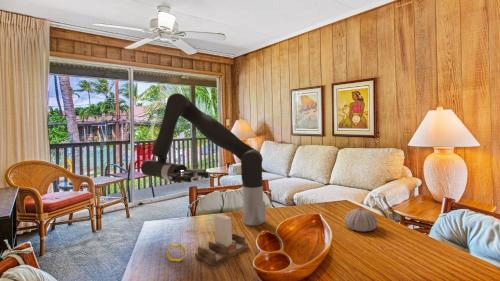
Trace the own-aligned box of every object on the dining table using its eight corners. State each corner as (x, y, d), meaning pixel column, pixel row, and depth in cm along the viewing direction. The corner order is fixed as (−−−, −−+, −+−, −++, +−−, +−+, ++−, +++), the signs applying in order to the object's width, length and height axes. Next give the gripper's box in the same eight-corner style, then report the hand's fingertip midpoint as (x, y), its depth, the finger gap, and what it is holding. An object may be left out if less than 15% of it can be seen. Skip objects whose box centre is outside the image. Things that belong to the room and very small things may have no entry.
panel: (215, 248, 99) (214, 215, 98) (220, 245, 101) (219, 213, 100) (227, 253, 96) (226, 219, 94) (232, 250, 97) (231, 217, 96)
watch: (166, 263, 93) (165, 246, 92) (168, 258, 96) (168, 242, 95) (184, 262, 93) (183, 245, 92) (186, 258, 96) (185, 241, 95)
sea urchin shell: (343, 231, 114) (343, 212, 114) (345, 220, 127) (345, 203, 126) (378, 236, 109) (378, 216, 109) (376, 223, 122) (377, 206, 121)
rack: (195, 257, 96) (194, 246, 96) (229, 239, 109) (228, 230, 109) (214, 266, 90) (214, 255, 89) (248, 247, 103) (248, 236, 102)
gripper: (158, 166, 109) (183, 170, 99) (188, 161, 120) (213, 164, 109) (159, 184, 110) (184, 191, 99) (188, 178, 120) (214, 183, 110)
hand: (199, 177), depth 104 cm, fingers open, 8 cm apart
